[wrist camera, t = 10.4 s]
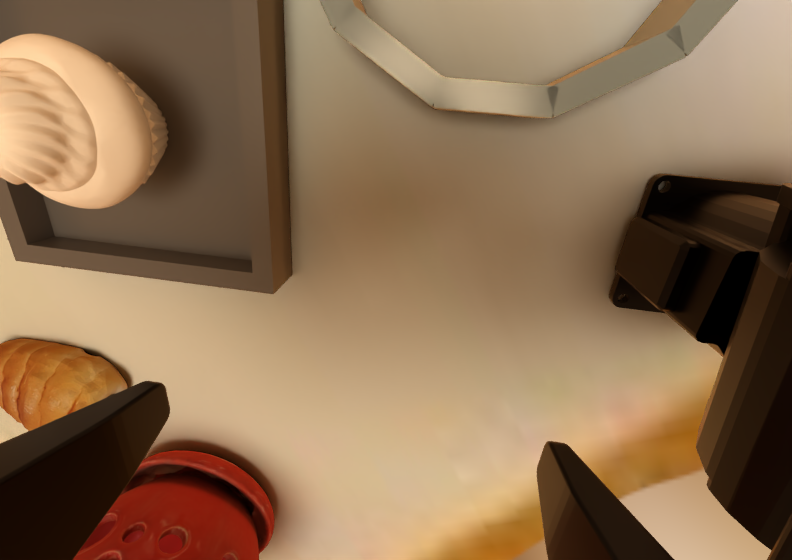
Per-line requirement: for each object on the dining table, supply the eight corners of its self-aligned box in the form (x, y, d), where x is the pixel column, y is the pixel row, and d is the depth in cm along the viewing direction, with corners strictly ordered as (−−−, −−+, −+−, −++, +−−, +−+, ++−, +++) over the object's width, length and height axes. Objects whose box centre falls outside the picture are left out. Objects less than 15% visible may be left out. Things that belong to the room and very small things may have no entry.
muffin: (50, 62, 17) (-189, 28, 10) (171, 39, 16) (-11, -14, 10) (108, 199, 19) (-58, 239, 13) (216, 186, 18) (95, 222, 12)
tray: (281, -41, 15) (253, -69, 13) (292, 274, 21) (273, 294, 19) (-31, -60, 16) (-109, -90, 14) (60, 245, 22) (15, 260, 20)
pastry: (10, 386, 28) (-53, 424, 24) (2, 311, 25) (-70, 342, 21) (131, 430, 28) (87, 474, 24) (137, 361, 25) (88, 400, 22)
